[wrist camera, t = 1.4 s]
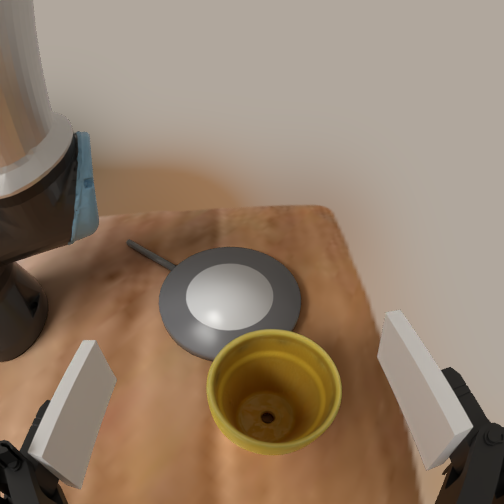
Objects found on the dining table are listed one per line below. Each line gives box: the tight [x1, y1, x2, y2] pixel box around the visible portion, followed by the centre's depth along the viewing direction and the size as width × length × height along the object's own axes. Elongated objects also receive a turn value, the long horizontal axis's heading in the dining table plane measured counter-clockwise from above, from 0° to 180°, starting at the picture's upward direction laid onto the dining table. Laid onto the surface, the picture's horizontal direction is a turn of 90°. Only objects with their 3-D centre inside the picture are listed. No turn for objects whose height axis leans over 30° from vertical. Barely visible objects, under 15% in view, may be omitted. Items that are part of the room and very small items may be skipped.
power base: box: [126, 240, 301, 361], centre depth 41 cm, size 30×18×2 cm, turn 58°
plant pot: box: [206, 329, 342, 455], centre depth 24 cm, size 10×10×10 cm
